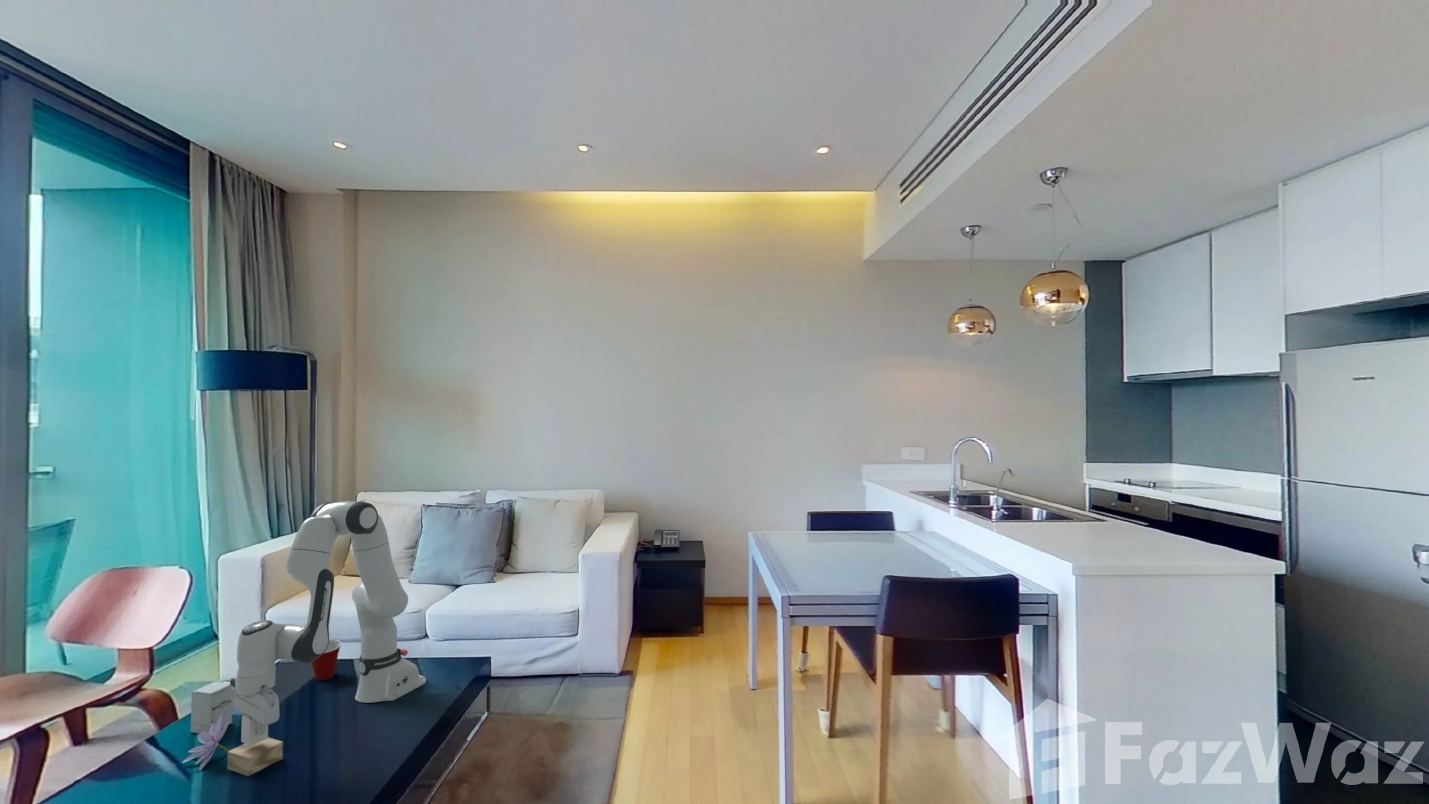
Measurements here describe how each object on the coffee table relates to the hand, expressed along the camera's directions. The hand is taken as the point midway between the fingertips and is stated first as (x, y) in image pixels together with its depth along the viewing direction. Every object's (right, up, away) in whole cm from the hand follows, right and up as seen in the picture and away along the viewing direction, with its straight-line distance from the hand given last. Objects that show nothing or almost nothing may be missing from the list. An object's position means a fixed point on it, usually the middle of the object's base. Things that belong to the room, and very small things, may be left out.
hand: (255, 731), depth 171 cm
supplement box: (-28, -9, +19) cm, 35 cm away
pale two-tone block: (0, -2, 0) cm, 2 cm away
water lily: (-15, -9, +2) cm, 18 cm away
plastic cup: (-16, -10, +55) cm, 58 cm away
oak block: (0, -9, 0) cm, 9 cm away
